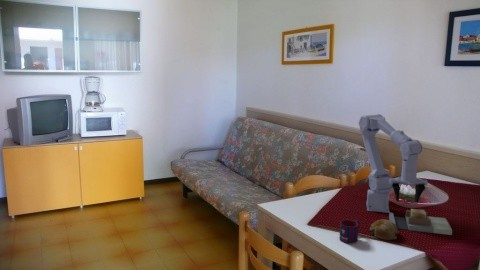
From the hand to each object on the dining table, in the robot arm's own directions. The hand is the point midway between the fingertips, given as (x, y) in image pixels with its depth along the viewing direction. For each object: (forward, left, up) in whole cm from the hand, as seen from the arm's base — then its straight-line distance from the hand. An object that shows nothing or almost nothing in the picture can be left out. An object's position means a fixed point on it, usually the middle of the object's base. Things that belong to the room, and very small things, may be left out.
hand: (406, 200), depth 155 cm
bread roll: (-10, -15, -10) cm, 20 cm away
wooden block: (+5, -2, -8) cm, 9 cm away
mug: (-21, -22, -10) cm, 32 cm away
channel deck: (+5, -2, -10) cm, 11 cm away
